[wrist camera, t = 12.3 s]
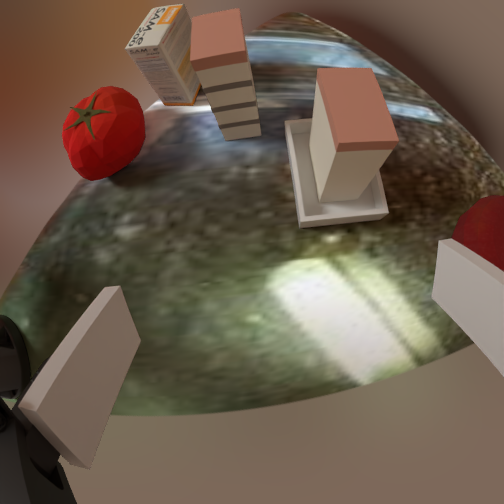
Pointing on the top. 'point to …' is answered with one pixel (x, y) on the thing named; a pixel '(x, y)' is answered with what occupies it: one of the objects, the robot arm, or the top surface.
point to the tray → (306, 197)
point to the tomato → (104, 132)
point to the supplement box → (166, 54)
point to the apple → (484, 229)
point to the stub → (348, 132)
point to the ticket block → (225, 72)
